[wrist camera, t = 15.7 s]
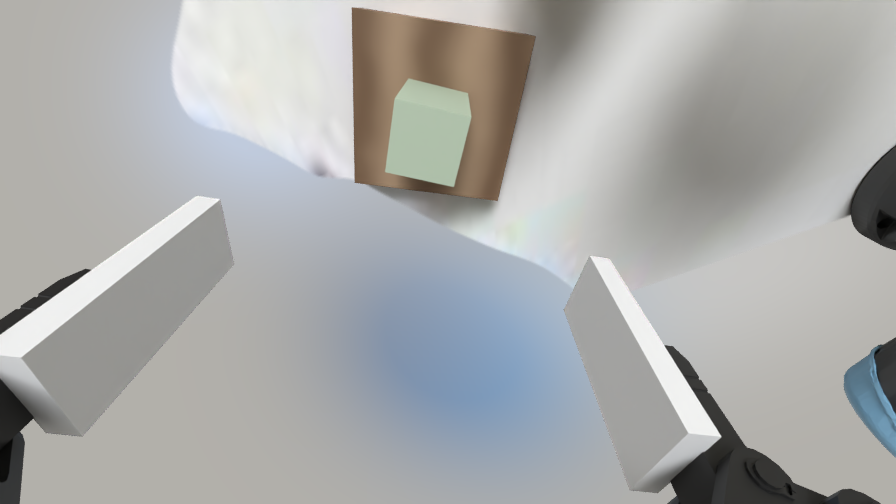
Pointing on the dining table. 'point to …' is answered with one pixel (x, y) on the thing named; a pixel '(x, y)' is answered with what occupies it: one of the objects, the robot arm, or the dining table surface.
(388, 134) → the walnut plinth
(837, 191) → the dining table surface
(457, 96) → the sage block
